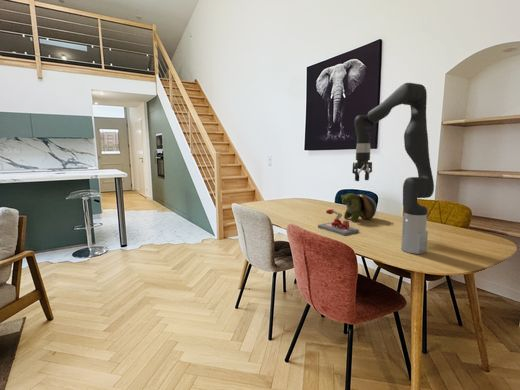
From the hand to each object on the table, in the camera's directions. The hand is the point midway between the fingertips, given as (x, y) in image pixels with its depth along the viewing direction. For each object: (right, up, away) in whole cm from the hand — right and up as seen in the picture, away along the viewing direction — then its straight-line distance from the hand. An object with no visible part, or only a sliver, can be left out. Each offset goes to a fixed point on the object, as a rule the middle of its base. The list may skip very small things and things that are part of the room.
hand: (362, 180), depth 160 cm
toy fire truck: (-13, -27, +2) cm, 30 cm away
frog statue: (+6, -25, +26) cm, 36 cm away
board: (-13, -28, +2) cm, 31 cm away
